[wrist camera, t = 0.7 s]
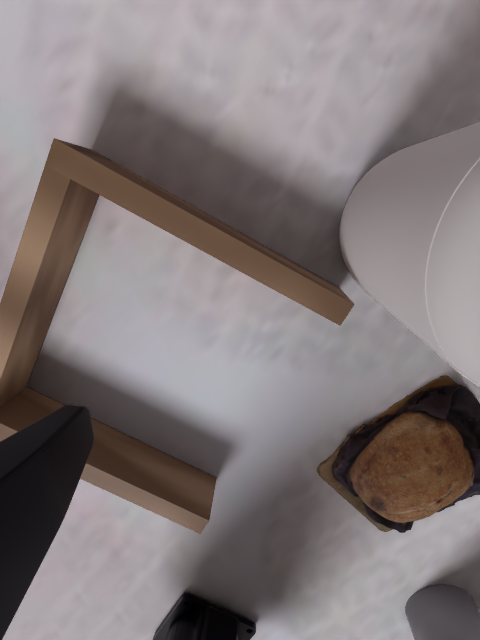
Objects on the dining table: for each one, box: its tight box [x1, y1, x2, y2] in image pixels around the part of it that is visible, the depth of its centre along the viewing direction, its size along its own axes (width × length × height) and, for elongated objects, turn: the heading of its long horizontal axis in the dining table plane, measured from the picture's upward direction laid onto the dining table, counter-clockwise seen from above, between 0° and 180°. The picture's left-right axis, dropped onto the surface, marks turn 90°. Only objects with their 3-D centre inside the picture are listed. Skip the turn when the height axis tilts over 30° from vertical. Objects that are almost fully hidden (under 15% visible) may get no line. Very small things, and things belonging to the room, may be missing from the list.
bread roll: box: [317, 376, 480, 533], centre depth 22 cm, size 11×8×4 cm
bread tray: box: [0, 138, 354, 534], centre depth 20 cm, size 16×15×4 cm
